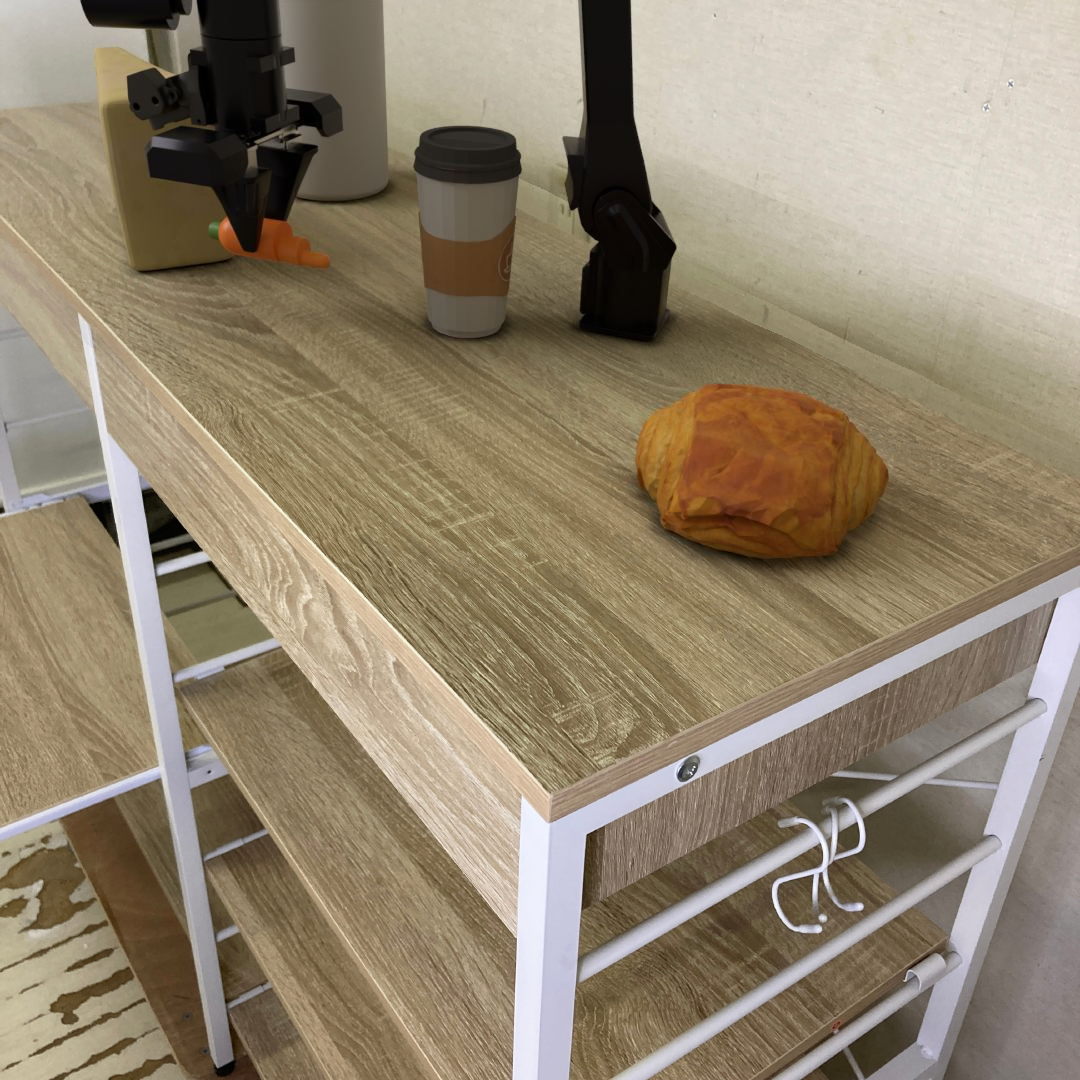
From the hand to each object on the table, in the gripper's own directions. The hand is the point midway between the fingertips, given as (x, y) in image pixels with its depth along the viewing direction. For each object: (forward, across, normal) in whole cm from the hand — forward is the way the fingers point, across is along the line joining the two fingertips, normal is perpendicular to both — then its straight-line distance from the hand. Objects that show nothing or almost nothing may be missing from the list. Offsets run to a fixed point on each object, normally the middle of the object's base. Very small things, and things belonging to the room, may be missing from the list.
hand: (262, 244), depth 88 cm
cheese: (+6, -13, -20) cm, 25 cm away
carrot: (+1, 0, +1) cm, 1 cm away
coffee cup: (+6, -5, +16) cm, 18 cm away
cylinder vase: (+6, -34, -12) cm, 37 cm away
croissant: (+6, +14, +43) cm, 45 cm away
